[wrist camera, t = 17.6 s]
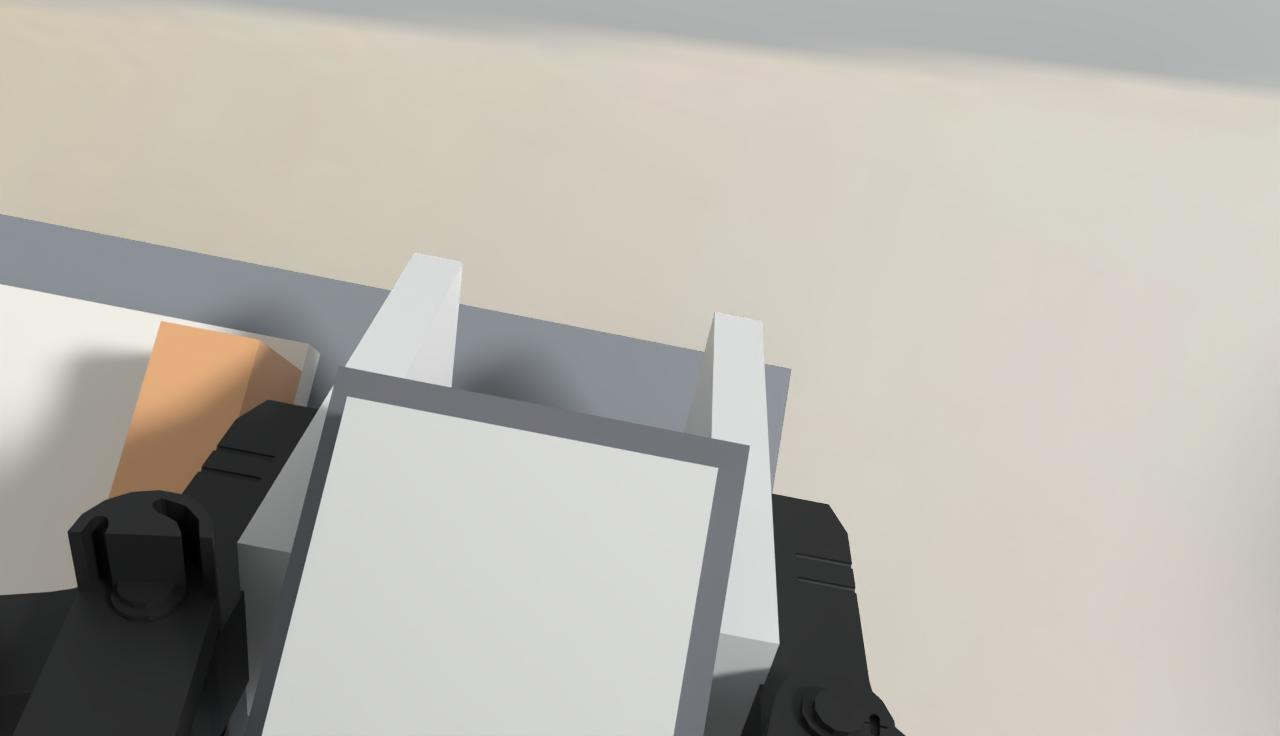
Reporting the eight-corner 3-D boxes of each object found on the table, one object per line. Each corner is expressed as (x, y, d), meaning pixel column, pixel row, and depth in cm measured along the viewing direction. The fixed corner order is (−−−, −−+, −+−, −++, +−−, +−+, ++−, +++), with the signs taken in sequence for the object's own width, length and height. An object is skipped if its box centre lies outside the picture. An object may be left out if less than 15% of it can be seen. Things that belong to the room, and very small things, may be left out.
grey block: (656, 508, 19) (770, 431, 8) (619, 720, 18) (692, 931, 8) (455, 469, 19) (312, 342, 8) (408, 681, 18) (180, 840, 8)
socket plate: (766, 391, 21) (791, 369, 19) (651, 1111, 18) (664, 1194, 16) (-17, 239, 21) (-94, 195, 18) (-262, 955, 18) (-393, 1016, 16)
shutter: (320, 353, 18) (268, 308, 15) (217, 750, 17) (135, 792, 14) (-62, 279, 18) (-196, 218, 15) (-201, 675, 16) (-381, 700, 13)
